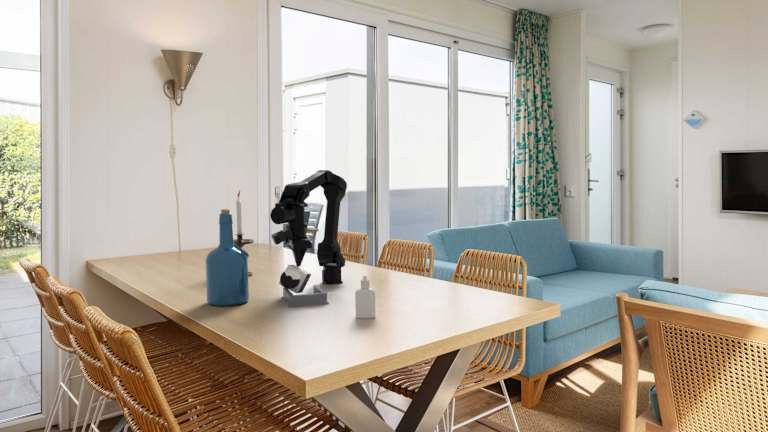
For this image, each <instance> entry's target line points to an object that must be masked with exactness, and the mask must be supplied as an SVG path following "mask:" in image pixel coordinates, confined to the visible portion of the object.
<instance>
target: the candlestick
mask: <svg viewBox="0 0 768 432" xmlns="http://www.w3.org/2000/svg"><path fill="white" fill-rule="evenodd" d="M238 190H239V191H238V193H237V200H236V201H235V204H236V208H235V209H236V234H235V233H234V235H235V236H236V239H233V243H235V244H236V245H238V246H239V247H240V248H241V249H243V247H244V246H245V245H251V244H254V239H251V238H250V239H249V238H243V235H245V233H243V224H242V223H243V222H242V219H243V218H242V201H241V199H240V194H241V190H240V189H238ZM249 276H250V277H253V272H252V271H248V278H249Z"/></svg>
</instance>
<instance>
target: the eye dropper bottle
mask: <svg viewBox="0 0 768 432" xmlns="http://www.w3.org/2000/svg"><path fill="white" fill-rule="evenodd" d="M354 294H355V296H354V297H355V300H354V301H355V306H354V307H355V318H356V319H365V320H366V319H368V320H369V319H374V318H375V317H376V290H374V289H373V288H371V287H370V279H368V278H367V274H364V275H363V277H362V279H361V280H360V288H358V289H356V290H355V293H354Z"/></svg>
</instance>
